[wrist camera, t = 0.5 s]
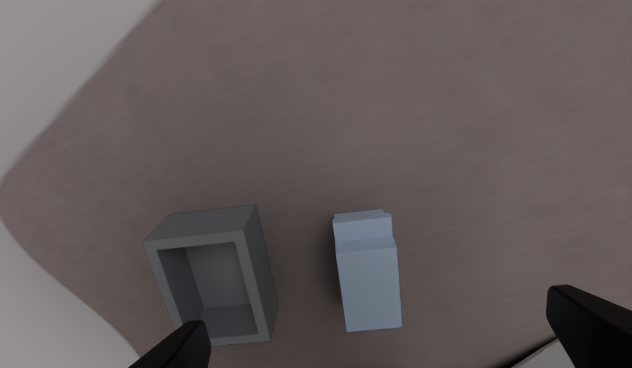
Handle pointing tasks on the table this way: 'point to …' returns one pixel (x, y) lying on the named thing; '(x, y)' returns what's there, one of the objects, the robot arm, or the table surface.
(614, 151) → the table surface
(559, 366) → the grey tapered block
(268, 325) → the pocket block
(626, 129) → the table surface
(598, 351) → the robot arm
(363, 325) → the block
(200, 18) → the table surface
